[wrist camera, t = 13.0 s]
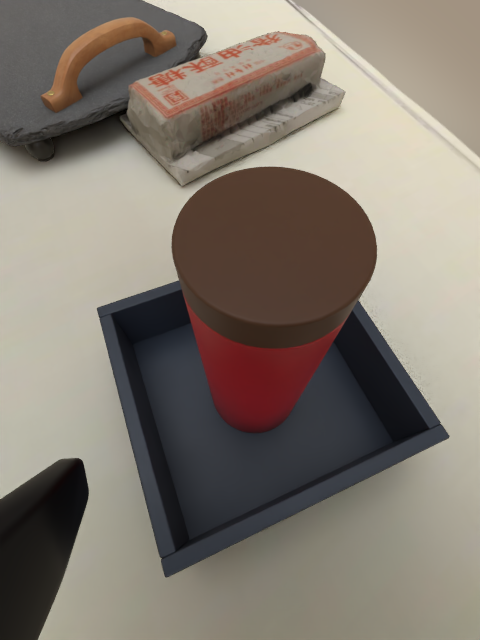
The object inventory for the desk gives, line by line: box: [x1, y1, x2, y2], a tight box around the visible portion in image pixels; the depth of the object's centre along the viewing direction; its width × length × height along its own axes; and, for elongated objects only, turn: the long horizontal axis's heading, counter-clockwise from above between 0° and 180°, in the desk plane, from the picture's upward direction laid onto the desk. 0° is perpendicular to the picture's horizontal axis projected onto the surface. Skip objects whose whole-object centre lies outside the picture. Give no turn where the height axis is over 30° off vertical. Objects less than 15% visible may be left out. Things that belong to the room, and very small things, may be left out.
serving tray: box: [0, 0, 208, 161], centre depth 34 cm, size 39×23×6 cm, turn 50°
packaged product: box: [120, 31, 345, 186], centre depth 29 cm, size 18×5×10 cm
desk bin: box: [97, 281, 449, 577], centre depth 17 cm, size 12×12×5 cm
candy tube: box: [172, 167, 377, 433], centre depth 13 cm, size 5×5×12 cm
